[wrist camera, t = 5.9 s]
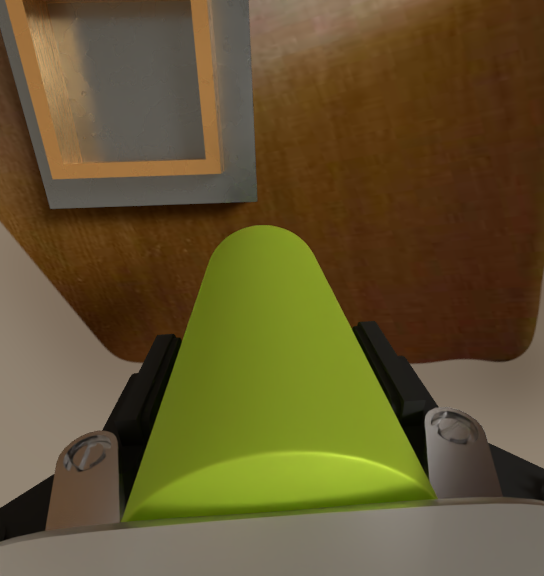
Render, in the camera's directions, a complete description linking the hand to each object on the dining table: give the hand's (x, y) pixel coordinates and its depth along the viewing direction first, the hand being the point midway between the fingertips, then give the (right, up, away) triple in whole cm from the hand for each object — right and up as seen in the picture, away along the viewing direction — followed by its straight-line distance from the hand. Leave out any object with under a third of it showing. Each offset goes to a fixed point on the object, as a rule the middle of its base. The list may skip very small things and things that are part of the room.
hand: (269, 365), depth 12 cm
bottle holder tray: (-10, +20, +16) cm, 28 cm away
